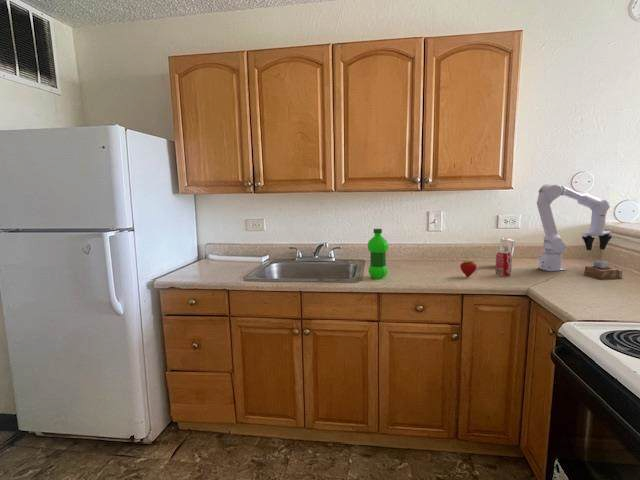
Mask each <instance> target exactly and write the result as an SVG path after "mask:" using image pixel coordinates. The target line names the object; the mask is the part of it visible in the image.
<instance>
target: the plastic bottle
mask: <svg viewBox="0 0 640 480" xmlns="http://www.w3.org/2000/svg"><path fill="white" fill-rule="evenodd" d="M382 229H383V228H373V234H374V236H373V237H371V238H370V239H369V240H368V242H367V249H368V251H369V252H370V253H369V254H370V265H369V267H368V274H369V275H370V277H372V278H373V279H374V280H380V279H384V278H385V277H386V276H387V274H388V267H387V265H386V263H387V262H386V259H387V257H386V256H387V255H386V253H387V251H388V249H389V243H388V241H387V240H386V238H384V237H383V236H382V233H383V230H382Z"/></svg>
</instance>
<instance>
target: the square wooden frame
mask: <svg viewBox="0 0 640 480" xmlns="http://www.w3.org/2000/svg"><path fill="white" fill-rule="evenodd" d="M593 267H594V265H588V266H587V265H585V266H584V273H583V274H584V276H589V277H592V278H596V279H598V280H604V279H605V280H606V279H619V278H618V273H619V270H620V269H618V268H614V267H610V266H609V269H606V270H600V269H597V268H593Z"/></svg>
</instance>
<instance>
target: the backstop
mask: <svg viewBox="0 0 640 480" xmlns="http://www.w3.org/2000/svg"><path fill="white" fill-rule="evenodd" d="M621 278H623V270H621V269H619V273H618V278H617V279H621Z"/></svg>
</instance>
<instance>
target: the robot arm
mask: <svg viewBox="0 0 640 480" xmlns="http://www.w3.org/2000/svg"><path fill="white" fill-rule="evenodd" d="M560 196H565V197H568V198H571V199H573V200H576V201H577V203H578V204H579V205H581V206H584V207H585V208H589V209H590V210H591V216H590V227H589V228H590V231H584V232H582V236H581V238H582V240H583V242H584V244H585V248H586V250H587V251H592V250H593V243H594V241H595V237H598V239H599V250H603V251H604V250H606V247H607V245H608V243H609V241H611V239H612V232H613V231H610V230H606V219H607V218H606V217H607V213H608V211H609V209H610V208H611V206H610V204H609V202H608V201H607V200H605V199H600V197H598V196H597V197H596V196H593V195H592V194H591V193H589V192H587V193H586V192H585V193H579V192H576V191H575V190H573V189H571V188H568V187H566V186H563V185H560V184H543V185H542V186H541V187H540V188H539V189H538V197H537V201H536V207H537V210H538V214H539V217H540V220H541V224H542V228H543V232H544V235H545V236H543V244H542V246H543V249H545V251H544V252H542V253H541V254H540V255H539V261H538V266H537V269H541V270H543V271H547V272H557V271H566V268H562V259H563V253H564V251H565V250H566V247H567V246H566V243H565V242H564V241H563V239H562V237H561V236H560V234H559V233H558V230H557V226H556V222H555V219H554V216H553V212H552V208H551V204H552V203H553V202H554V201H555V200H557V199H558V198H560Z"/></svg>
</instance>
